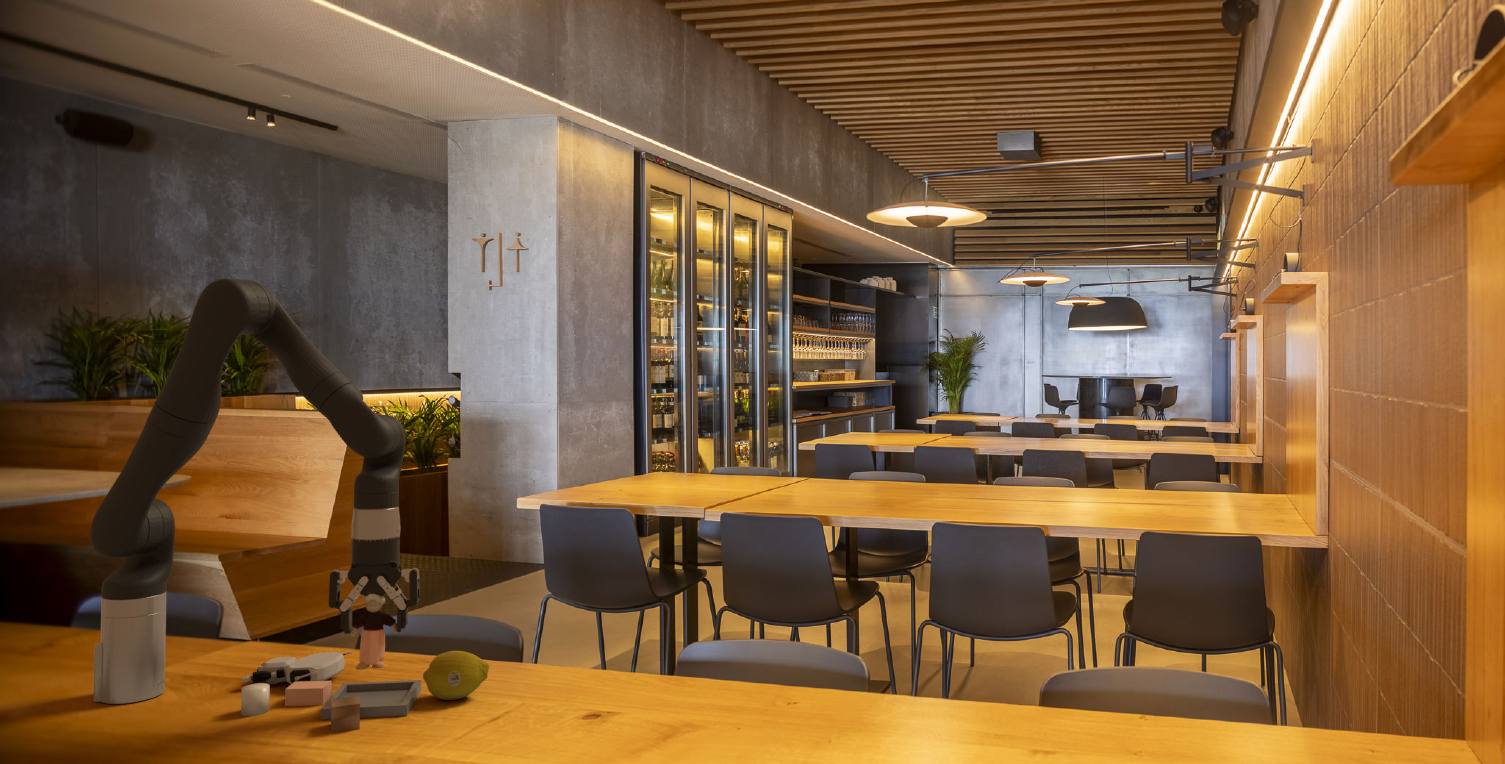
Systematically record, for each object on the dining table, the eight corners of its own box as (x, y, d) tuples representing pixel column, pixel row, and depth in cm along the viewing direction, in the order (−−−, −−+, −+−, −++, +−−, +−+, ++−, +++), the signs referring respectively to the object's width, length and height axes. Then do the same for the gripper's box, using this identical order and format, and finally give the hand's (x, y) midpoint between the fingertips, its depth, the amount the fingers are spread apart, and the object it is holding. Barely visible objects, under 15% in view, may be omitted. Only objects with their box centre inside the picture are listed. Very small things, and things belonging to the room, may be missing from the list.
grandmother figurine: (349, 673, 149) (350, 595, 149) (348, 666, 153) (348, 590, 153) (399, 666, 153) (400, 590, 153) (397, 660, 156) (397, 586, 156)
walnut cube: (331, 733, 140) (331, 707, 140) (330, 724, 143) (331, 699, 143) (359, 729, 142) (360, 703, 142) (358, 721, 145) (358, 695, 145)
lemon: (415, 706, 152) (416, 658, 152) (431, 691, 160) (432, 645, 160) (480, 706, 152) (481, 658, 152) (493, 691, 160) (494, 645, 160)
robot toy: (237, 697, 158) (321, 693, 157) (235, 671, 158) (319, 667, 157) (278, 675, 170) (356, 672, 169) (276, 651, 170) (354, 647, 170)
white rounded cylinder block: (237, 716, 146) (237, 691, 146) (246, 708, 150) (246, 684, 150) (264, 715, 147) (264, 690, 147) (272, 707, 151) (273, 682, 151)
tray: (320, 720, 145) (321, 709, 145) (342, 693, 158) (342, 683, 158) (406, 715, 147) (407, 705, 147) (421, 689, 160) (421, 680, 160)
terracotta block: (285, 707, 151) (285, 689, 151) (294, 699, 155) (295, 681, 155) (322, 706, 152) (323, 688, 152) (331, 698, 156) (331, 680, 156)
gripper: (324, 538, 148) (322, 639, 148) (416, 537, 150) (415, 636, 150) (336, 531, 155) (335, 627, 155) (424, 530, 158) (423, 624, 158)
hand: (374, 631), depth 153 cm, fingers closed on grandmother figurine, 8 cm apart
